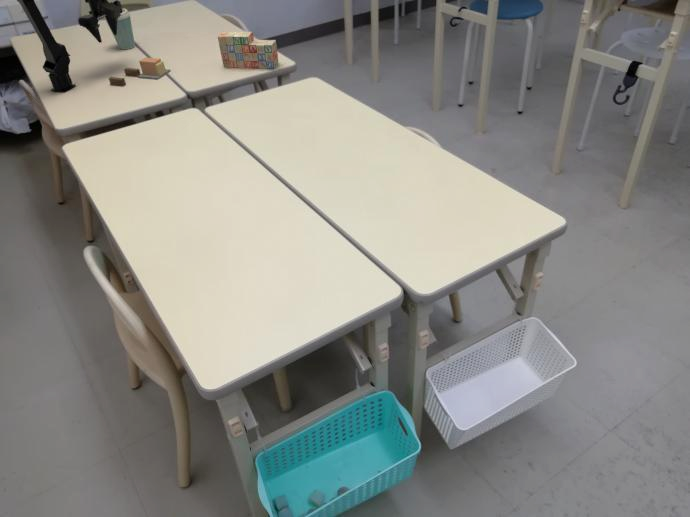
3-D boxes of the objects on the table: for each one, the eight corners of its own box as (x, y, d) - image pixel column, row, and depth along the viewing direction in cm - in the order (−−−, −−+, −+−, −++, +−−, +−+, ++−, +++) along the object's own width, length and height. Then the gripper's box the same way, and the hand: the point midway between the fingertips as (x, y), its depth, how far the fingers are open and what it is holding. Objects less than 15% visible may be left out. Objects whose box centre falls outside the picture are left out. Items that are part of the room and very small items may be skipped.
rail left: (123, 86, 201) (121, 79, 200) (110, 84, 203) (108, 78, 201) (126, 84, 202) (124, 78, 201) (113, 83, 204) (110, 76, 202)
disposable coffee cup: (131, 51, 232) (120, 15, 222) (109, 51, 233) (97, 14, 224) (143, 43, 239) (133, 7, 230) (121, 43, 241) (111, 7, 232)
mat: (157, 79, 205) (157, 78, 204) (138, 77, 207) (137, 76, 207) (170, 71, 211) (170, 69, 211) (151, 69, 214) (151, 67, 213)
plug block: (160, 75, 206) (156, 62, 203) (142, 74, 208) (139, 61, 205) (166, 71, 209) (162, 59, 206) (148, 70, 211) (145, 57, 208)
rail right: (138, 76, 208) (136, 70, 206) (125, 75, 210) (123, 69, 208) (140, 75, 209) (139, 68, 207) (128, 74, 211) (126, 67, 209)
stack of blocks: (279, 63, 212) (275, 31, 204) (274, 69, 208) (270, 37, 200) (228, 62, 216) (223, 30, 208) (223, 68, 212) (217, 36, 204)
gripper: (95, 3, 189) (109, 47, 199) (127, -11, 202) (139, 32, 212) (70, 1, 192) (85, 46, 202) (103, -12, 206) (116, 30, 215)
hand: (108, 38), depth 208 cm, fingers open, 9 cm apart
